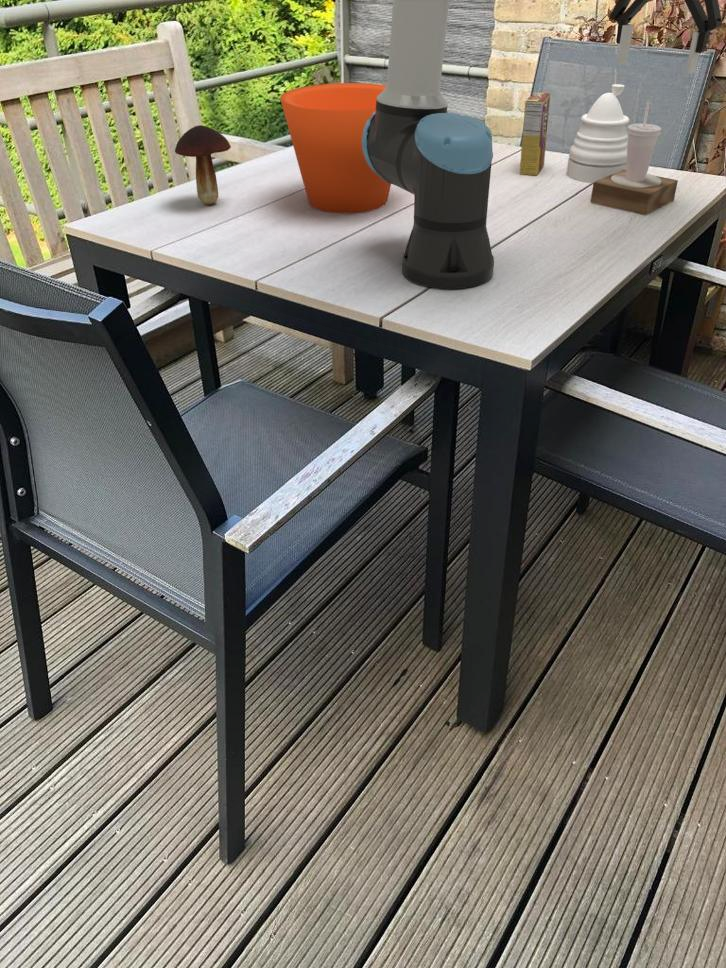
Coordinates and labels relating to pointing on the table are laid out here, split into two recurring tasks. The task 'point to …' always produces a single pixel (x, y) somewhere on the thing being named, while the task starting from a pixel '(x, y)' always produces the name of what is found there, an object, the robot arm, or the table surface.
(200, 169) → the decorative mushroom
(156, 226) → the table surface
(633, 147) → the smoothie
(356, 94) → the flowerpot
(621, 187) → the pedestal
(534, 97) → the candy box
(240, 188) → the table surface
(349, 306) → the table surface
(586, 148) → the honey pot
